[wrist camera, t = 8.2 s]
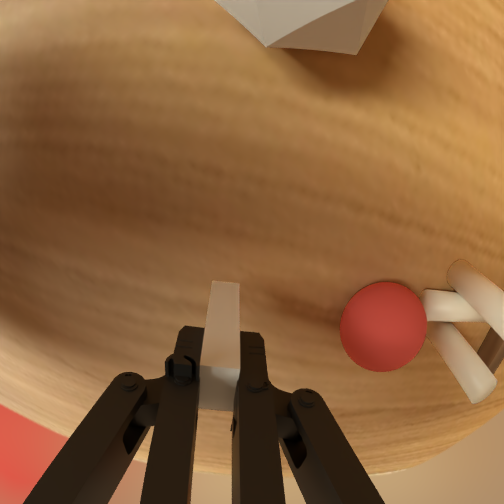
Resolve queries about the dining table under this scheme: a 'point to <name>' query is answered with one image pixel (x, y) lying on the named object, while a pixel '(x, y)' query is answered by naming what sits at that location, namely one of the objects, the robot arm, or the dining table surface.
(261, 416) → the robot arm
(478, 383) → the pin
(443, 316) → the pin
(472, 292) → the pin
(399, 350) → the ball
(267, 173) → the dining table surface
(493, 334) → the back rail
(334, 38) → the die
